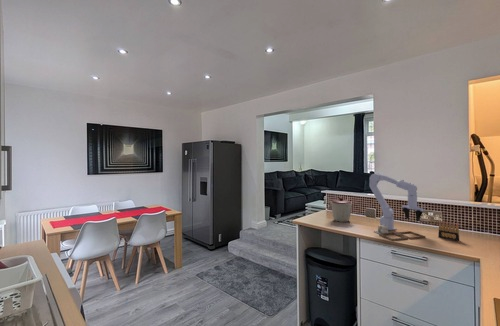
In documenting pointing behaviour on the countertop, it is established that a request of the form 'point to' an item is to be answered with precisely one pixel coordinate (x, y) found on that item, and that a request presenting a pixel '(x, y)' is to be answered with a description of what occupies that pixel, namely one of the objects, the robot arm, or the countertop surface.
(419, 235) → the tray far
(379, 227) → the cube
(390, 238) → the tray near
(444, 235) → the ammunition clip
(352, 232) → the countertop surface
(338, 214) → the canister
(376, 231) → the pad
